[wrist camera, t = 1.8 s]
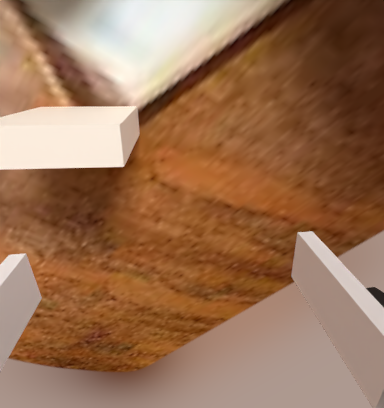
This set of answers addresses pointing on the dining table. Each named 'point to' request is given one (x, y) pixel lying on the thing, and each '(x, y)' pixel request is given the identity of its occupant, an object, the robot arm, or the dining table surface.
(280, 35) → the dining table surface
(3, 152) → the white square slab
